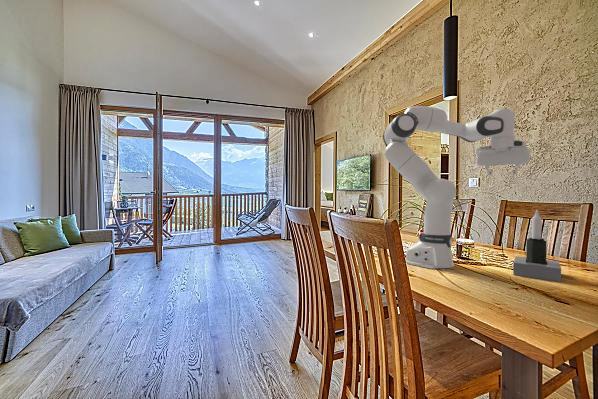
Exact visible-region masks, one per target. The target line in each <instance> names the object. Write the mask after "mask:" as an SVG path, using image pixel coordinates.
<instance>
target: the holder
mask: <svg viewBox="0 0 598 399" xmlns="http://www.w3.org/2000/svg"><path fill="white" fill-rule="evenodd" d="M512 264H513V271H512V273H513V276H516V277H517V276H518V277H523V278H531V279H538V280H539V279H540V280H545V281H551V282H558V283H561V282H562V267H561V262H560V261H559V260H552V259H546V265H545V264H537V263H529V262H526V256H517V255H516V256H515V257H514V259H513V263H512Z"/></svg>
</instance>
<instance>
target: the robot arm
mask: <svg viewBox="0 0 598 399" xmlns="http://www.w3.org/2000/svg"><path fill="white" fill-rule="evenodd" d="M515 122H516V121H515V114H514V112H513V110H512V109H509V108H497V109H494V111H493V112H490V113H489V114H486V115H484V116H482V117H478V118H477V119H475V120H471V121H469V122H465V123H462V122H457V121H456V122H455V121H452V120H448V115H447V112H446V111H445V110H444V109H441V108H437V107H432V106H426V105H425V106H424V105H423V106H422V105H411V106H409V107H407V108H406V110H405V111H404V112H403V113H400V114H399V115H397V116H395V117H394V119H392V121H391V122H390V123H388V125H387V126H386V128H385V130H384V131H383V135H382V140H383V141H382V142H384V145H385V149H384V151H383V155H384V157H385V158H386V160H387V161H388V162H389V163H390V165H391V166H392V167H393V168H394V169H395V171H396V172H398V173H399V174H400V175H401V176H402V177H403V178H404V179H405V180H406V181H407V182H408V183H409V184H410V185H411V186H412V187H413V189H414V190H415V191H416V192H417V193H418V194H419V195H420V196H421V197H422V198H423V200H424V201H426V202H425V203H426V204H425V209H424V213H423V232H421V233H420V234H418V239H419V240H418V241H416V242H415V243H413V244H412V245H410V246H409V247H407V249H406V252H405V256H406V262H407V263H406V264H408V265H413V266H417V267H421V268H427V269H431V270H434V269H451V268H454V267H455V263H454V261H453V255H452V245H453V238H452V234H451V225H452V224H451V221H452V220H451V217H452V213H453V212H452V211H453V208H454V202H455V197H456V195H457V188H456V186H455V184H454V183H453V182H452V181H450V180H448V179H446V178H439V177H438V176H437V175H436V174H435V173H434V172H433V171H432V170H433V169H431V167H429V165H428V164H427V163H426V161H424V160H423V159H422V158H421V157H420V155H418V154H417V153H416V152H415V151H414V150H412V148H410V146H409V145H408V143H407V141H408V139H409V138H410V137H411V136H412V135H413V134H414V132H415V131H421V132H428V133H429V132H430V133H440V134H445V135H450V136H454V137H458V138H460V139H462V140H463V141H466V142H467V143H475V142H477V141H478V142H479V141H480V140H484V139H485V138H488V137H489V138H490V139H491V141H490V145H486V146H485V145H484V146H480V147H478V148H477V149H476V152H475V153H476V156H477V157H476V165H477V166H478V167H483V166H484V167H485V170H486V171H487V176H492V175H493V171H492V170H490V169H489V168H490V166H500V165H501V166H502V165H503V166H504V165H515V166H516V168H515V169H512V175H517V174H518V170H519V168H520V167H521V164H522V165H523V164H529V163H530V162H531V155H530V150H529V149H528V147H527V141H524V140H519V139H515V138H516V137H515V134H514V130H515V126H516V123H515Z"/></svg>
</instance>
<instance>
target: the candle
mask: <svg viewBox="0 0 598 399" xmlns="http://www.w3.org/2000/svg"><path fill="white" fill-rule="evenodd" d="M542 220H543V218H542V217H541V215H540V214H539V209H536V210H535V213H534V215H533V216H532V218H531V237H529V238H527V239H526V256H525V257H526V262H529V263H537V264H545V265H546V260H547V244H548V243H547V241H546V240H545V239H544V238H542V229H543V228H542V224H543V223H542V222H543V221H542Z"/></svg>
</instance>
